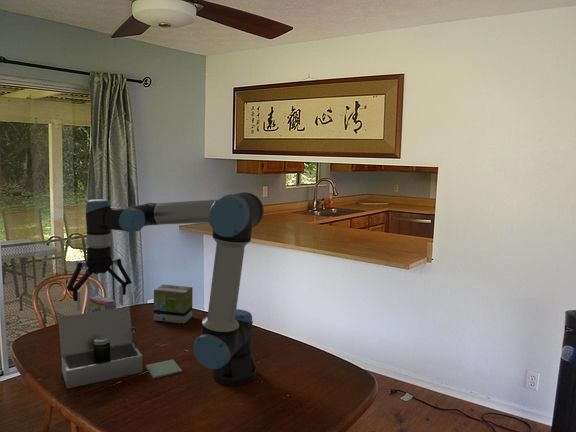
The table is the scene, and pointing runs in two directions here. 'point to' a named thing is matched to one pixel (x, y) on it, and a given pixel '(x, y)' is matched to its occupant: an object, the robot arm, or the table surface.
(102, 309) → the candy bar box
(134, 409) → the table surface
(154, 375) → the pad
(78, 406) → the table surface
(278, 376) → the table surface
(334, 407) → the table surface
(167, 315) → the tea box
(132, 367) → the case
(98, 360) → the beer can
